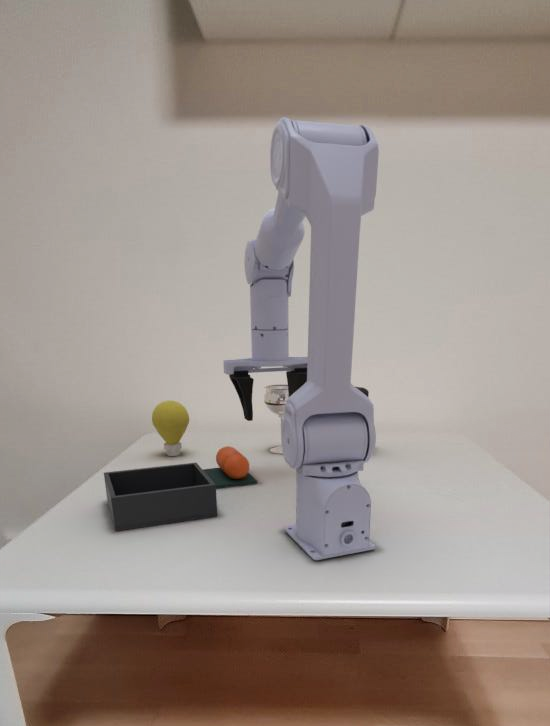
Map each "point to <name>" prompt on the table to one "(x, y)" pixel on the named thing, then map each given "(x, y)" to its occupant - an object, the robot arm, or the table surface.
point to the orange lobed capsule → (232, 462)
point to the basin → (159, 495)
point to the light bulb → (171, 424)
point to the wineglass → (276, 404)
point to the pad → (227, 478)
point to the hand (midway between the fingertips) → (271, 417)
